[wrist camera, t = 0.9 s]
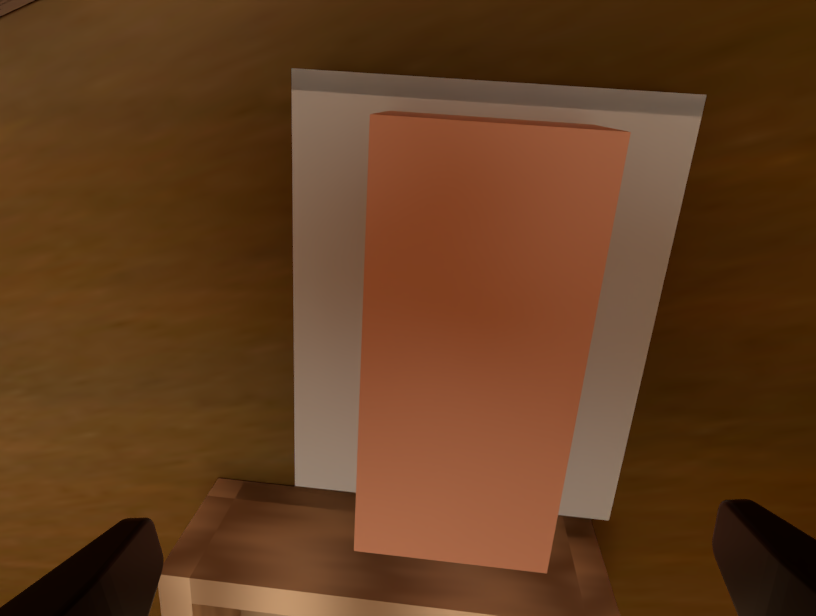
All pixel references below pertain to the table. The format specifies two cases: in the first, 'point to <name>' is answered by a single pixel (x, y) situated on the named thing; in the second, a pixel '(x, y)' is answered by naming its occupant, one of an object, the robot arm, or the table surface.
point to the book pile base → (345, 252)
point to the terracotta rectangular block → (477, 329)
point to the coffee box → (11, 5)
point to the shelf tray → (355, 565)
